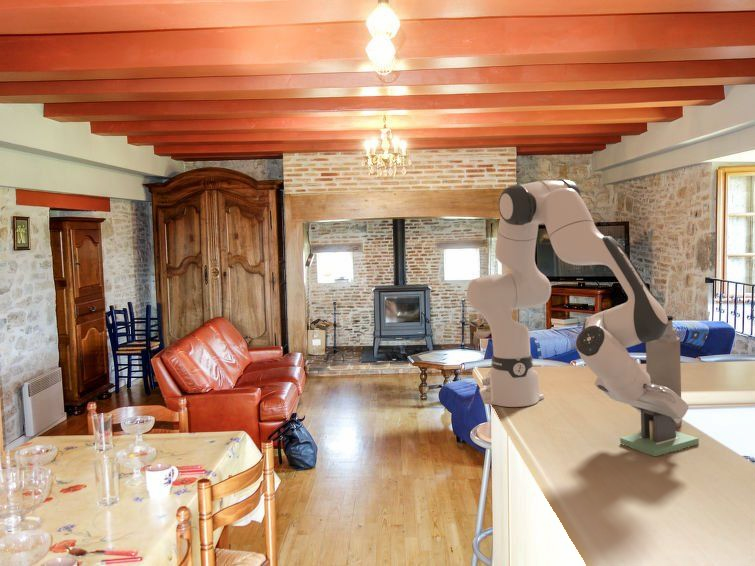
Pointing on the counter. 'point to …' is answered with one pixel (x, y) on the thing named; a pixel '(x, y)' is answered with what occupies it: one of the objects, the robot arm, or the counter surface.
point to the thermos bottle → (665, 360)
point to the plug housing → (657, 426)
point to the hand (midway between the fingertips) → (660, 415)
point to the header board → (661, 447)
